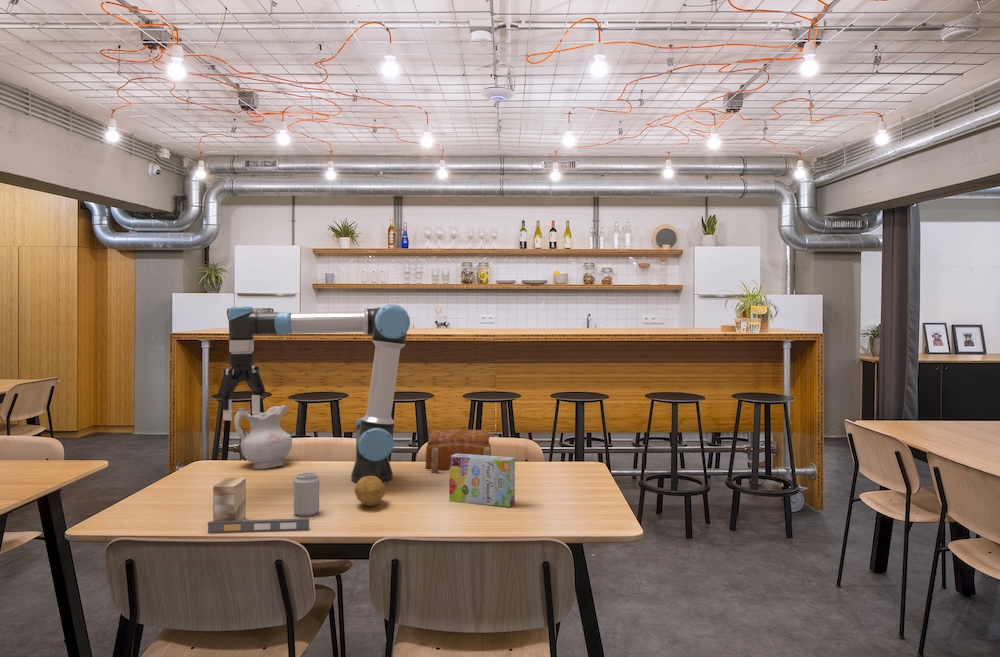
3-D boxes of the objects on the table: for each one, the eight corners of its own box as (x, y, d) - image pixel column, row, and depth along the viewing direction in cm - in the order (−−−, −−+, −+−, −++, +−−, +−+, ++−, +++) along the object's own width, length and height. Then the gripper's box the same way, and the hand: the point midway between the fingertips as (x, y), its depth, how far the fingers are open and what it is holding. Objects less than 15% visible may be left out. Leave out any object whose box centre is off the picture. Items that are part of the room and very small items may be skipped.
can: (311, 518, 189) (311, 477, 189) (288, 516, 191) (288, 476, 190) (323, 510, 196) (323, 472, 196) (301, 509, 198) (301, 470, 198)
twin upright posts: (485, 461, 268) (485, 437, 268) (489, 474, 245) (490, 448, 245) (431, 462, 265) (431, 438, 265) (431, 475, 243) (431, 449, 243)
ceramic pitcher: (256, 476, 241) (256, 410, 240) (224, 470, 251) (224, 407, 251) (301, 465, 259) (302, 404, 259) (270, 460, 269) (270, 401, 269)
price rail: (309, 528, 180) (309, 518, 180) (308, 530, 178) (308, 520, 178) (209, 531, 177) (209, 521, 177) (207, 533, 175) (207, 523, 175)
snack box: (515, 503, 205) (515, 456, 205) (510, 508, 200) (510, 460, 200) (455, 497, 212) (455, 452, 212) (448, 501, 207) (448, 455, 207)
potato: (348, 511, 196) (348, 481, 196) (361, 499, 209) (361, 471, 209) (378, 512, 195) (379, 481, 195) (389, 500, 209) (389, 471, 209)
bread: (491, 472, 249) (491, 432, 249) (424, 472, 249) (424, 432, 248) (491, 464, 263) (491, 426, 262) (427, 464, 262) (428, 426, 262)
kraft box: (245, 518, 189) (245, 477, 189) (235, 529, 179) (235, 486, 178) (224, 518, 188) (224, 478, 188) (212, 529, 178) (212, 486, 178)
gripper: (257, 351, 223) (257, 411, 224) (204, 354, 200) (204, 422, 200) (275, 351, 221) (275, 412, 221) (223, 354, 197) (224, 423, 198)
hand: (242, 417), depth 211 cm, fingers open, 13 cm apart
